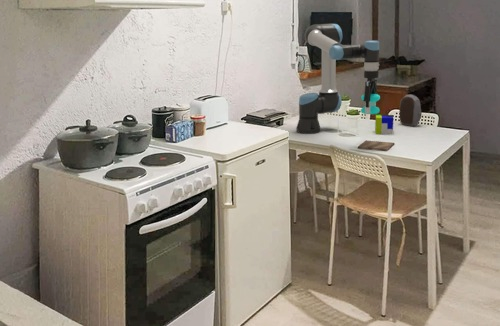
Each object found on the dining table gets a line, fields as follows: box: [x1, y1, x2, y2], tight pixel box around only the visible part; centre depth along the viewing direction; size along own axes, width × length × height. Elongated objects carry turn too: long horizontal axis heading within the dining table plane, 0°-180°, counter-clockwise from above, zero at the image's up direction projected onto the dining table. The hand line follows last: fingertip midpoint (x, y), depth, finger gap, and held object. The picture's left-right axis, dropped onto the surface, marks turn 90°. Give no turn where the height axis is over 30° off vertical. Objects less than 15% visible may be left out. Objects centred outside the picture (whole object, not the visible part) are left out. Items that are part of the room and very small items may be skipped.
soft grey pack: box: [398, 94, 423, 126], centre depth 338 cm, size 15×8×20 cm, turn 36°
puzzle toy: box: [374, 114, 394, 135], centre depth 320 cm, size 10×10×10 cm
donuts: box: [360, 93, 381, 115], centre depth 285 cm, size 10×10×10 cm
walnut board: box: [357, 140, 395, 152], centre depth 288 cm, size 16×16×1 cm
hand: (370, 111), depth 286 cm, fingers closed on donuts, 10 cm apart
